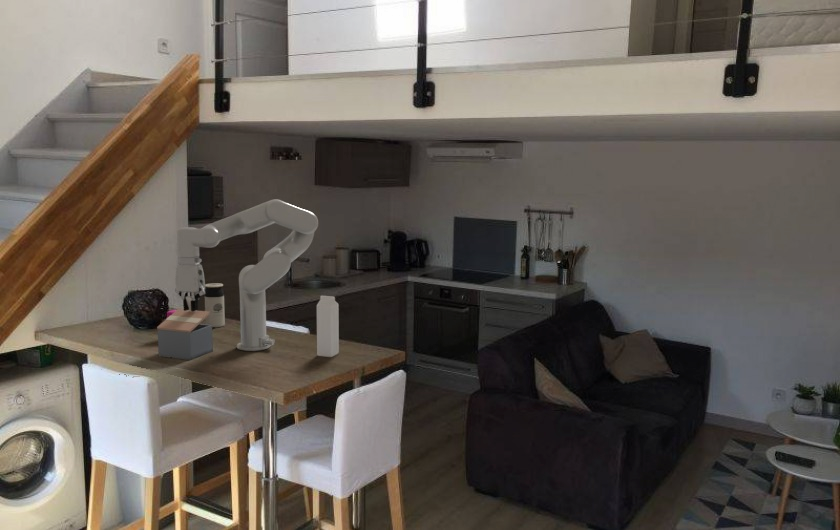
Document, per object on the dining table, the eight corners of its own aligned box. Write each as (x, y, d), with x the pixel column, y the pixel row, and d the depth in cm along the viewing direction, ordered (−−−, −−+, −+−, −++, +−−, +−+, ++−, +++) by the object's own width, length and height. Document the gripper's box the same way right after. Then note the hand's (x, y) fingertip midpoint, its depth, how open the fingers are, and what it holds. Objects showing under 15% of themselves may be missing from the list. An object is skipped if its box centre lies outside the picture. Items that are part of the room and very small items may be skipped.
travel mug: (204, 324, 305) (203, 283, 303) (223, 323, 308) (222, 282, 306) (206, 328, 298) (205, 286, 296) (226, 326, 301) (224, 285, 299)
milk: (324, 351, 263) (324, 294, 260) (339, 353, 261) (338, 295, 258) (316, 355, 258) (316, 296, 255) (331, 357, 256) (331, 297, 253)
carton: (212, 351, 262) (212, 325, 261) (191, 359, 250) (190, 332, 249) (181, 347, 267) (180, 322, 265) (158, 356, 255) (157, 329, 253)
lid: (210, 313, 260) (206, 297, 256) (190, 332, 249) (185, 316, 246) (178, 310, 264) (174, 294, 261) (157, 329, 253) (152, 313, 250)
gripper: (213, 261, 258) (215, 310, 260) (177, 258, 263) (179, 306, 266) (200, 263, 251) (202, 314, 253) (163, 261, 256) (166, 310, 259)
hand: (190, 309), depth 260 cm, fingers closed on lid, 2 cm apart
